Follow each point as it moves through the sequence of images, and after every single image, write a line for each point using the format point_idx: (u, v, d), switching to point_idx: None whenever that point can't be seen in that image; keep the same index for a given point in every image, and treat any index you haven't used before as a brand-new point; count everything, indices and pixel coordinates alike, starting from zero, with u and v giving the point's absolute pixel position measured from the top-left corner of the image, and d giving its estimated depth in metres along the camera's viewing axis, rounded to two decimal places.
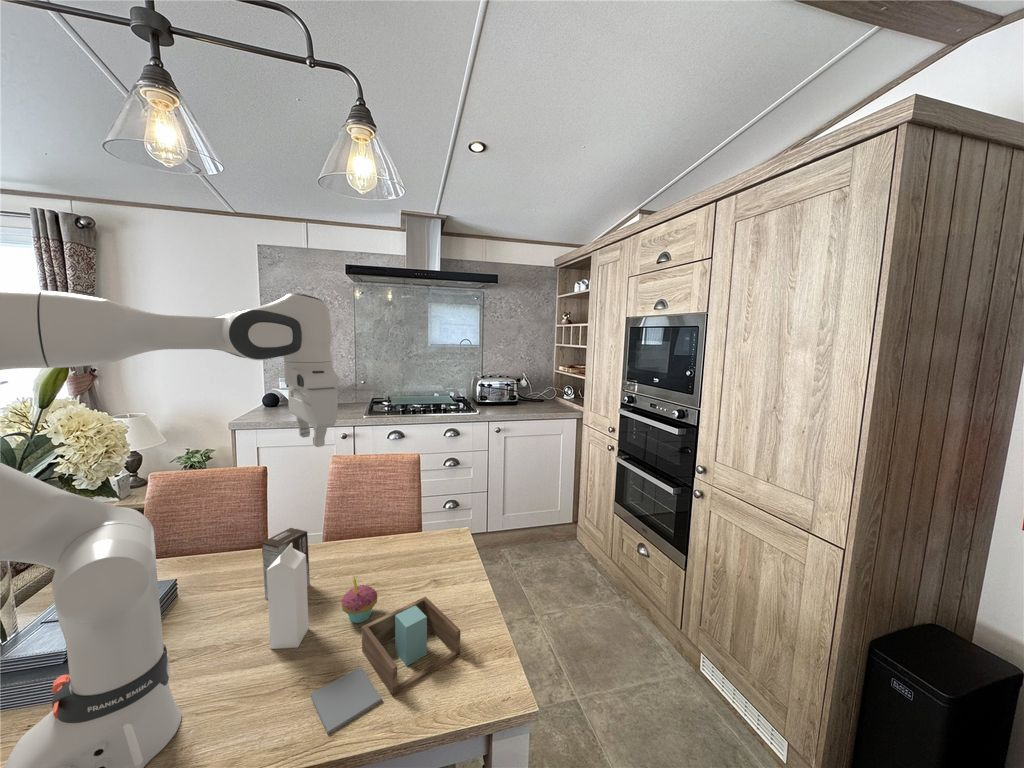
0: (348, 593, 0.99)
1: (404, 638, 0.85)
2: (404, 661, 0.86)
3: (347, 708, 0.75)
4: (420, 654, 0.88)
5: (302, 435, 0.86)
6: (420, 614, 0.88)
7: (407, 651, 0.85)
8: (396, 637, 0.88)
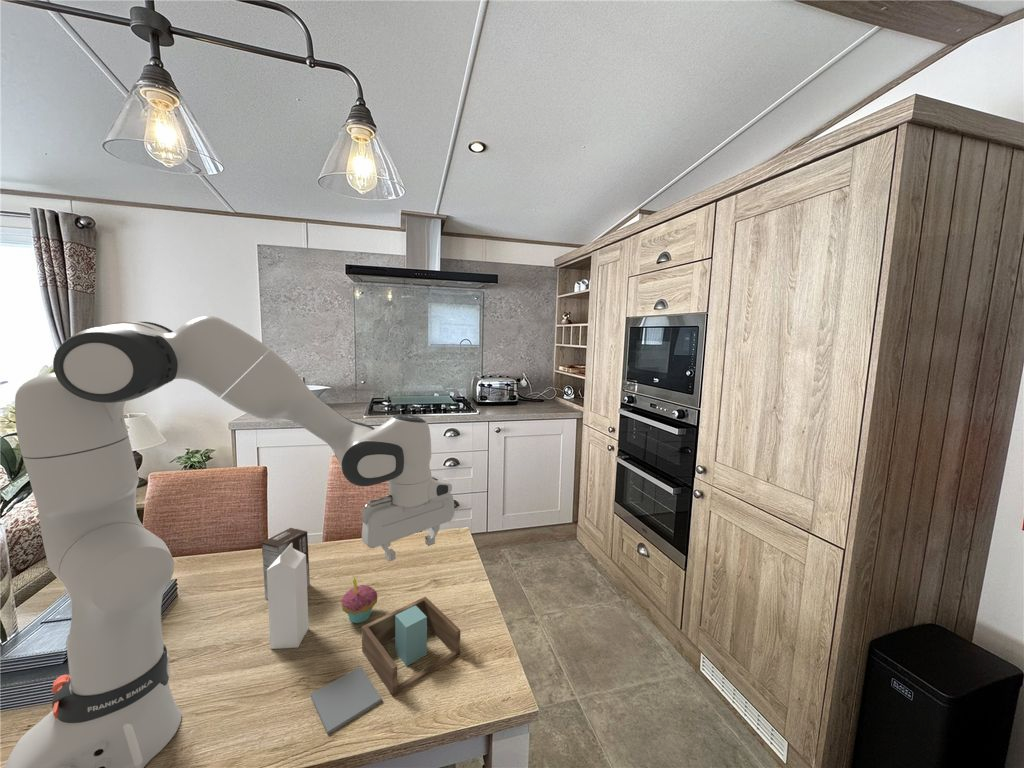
0: (348, 593, 0.99)
1: (405, 638, 0.85)
2: (404, 661, 0.86)
3: (347, 708, 0.75)
4: (420, 654, 0.88)
5: None
6: (420, 614, 0.88)
7: (407, 651, 0.85)
8: (396, 637, 0.88)
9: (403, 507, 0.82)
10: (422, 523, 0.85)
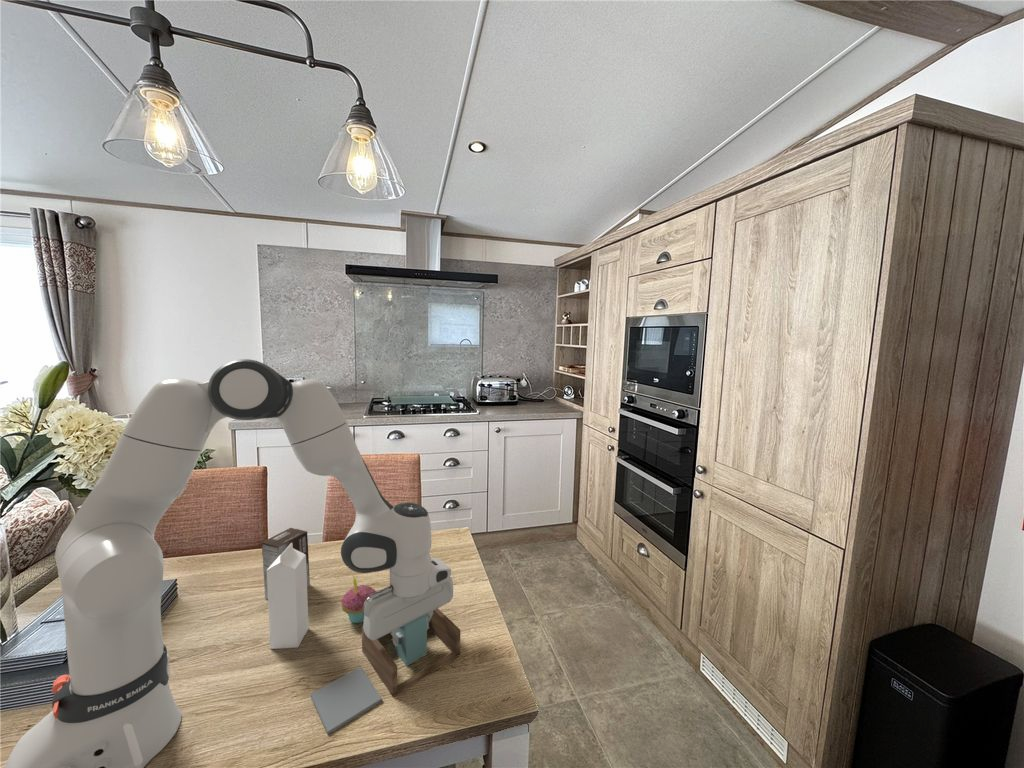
0: (348, 593, 0.99)
1: (404, 638, 0.85)
2: (404, 660, 0.86)
3: (347, 708, 0.75)
4: (420, 654, 0.88)
5: None
6: None
7: (407, 651, 0.85)
8: None
9: (404, 597, 0.84)
10: (422, 609, 0.88)
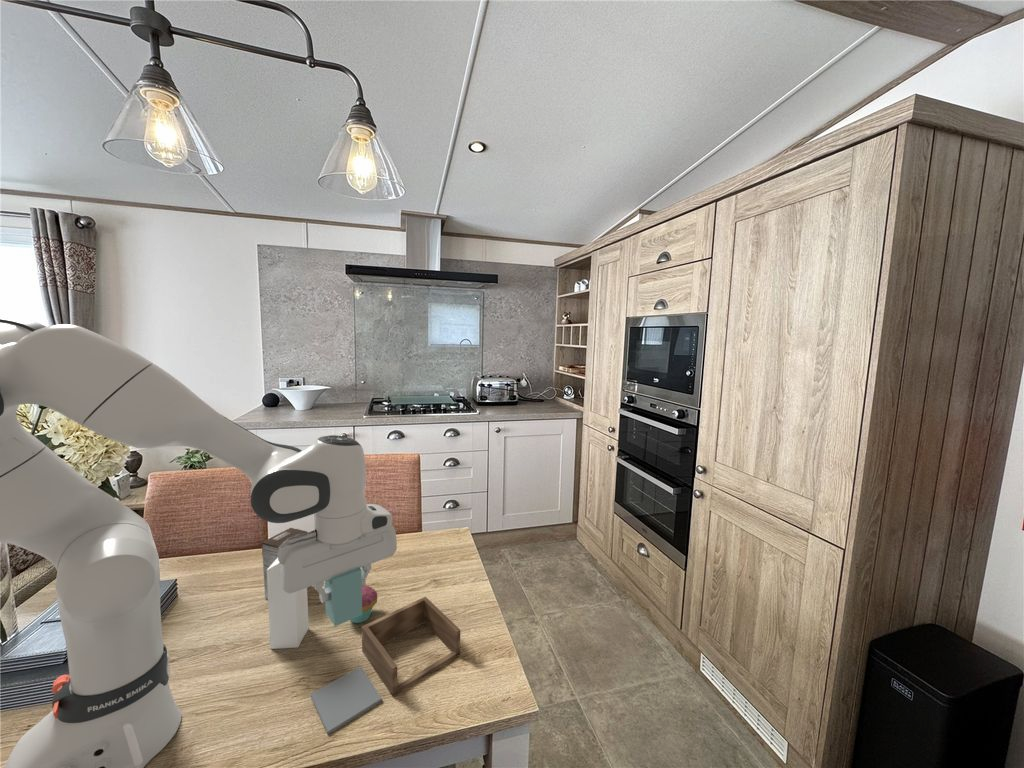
0: None
1: (332, 593, 0.71)
2: (333, 620, 0.72)
3: (347, 708, 0.75)
4: (353, 613, 0.74)
5: None
6: None
7: (336, 608, 0.72)
8: None
9: (330, 544, 0.70)
10: (355, 561, 0.74)
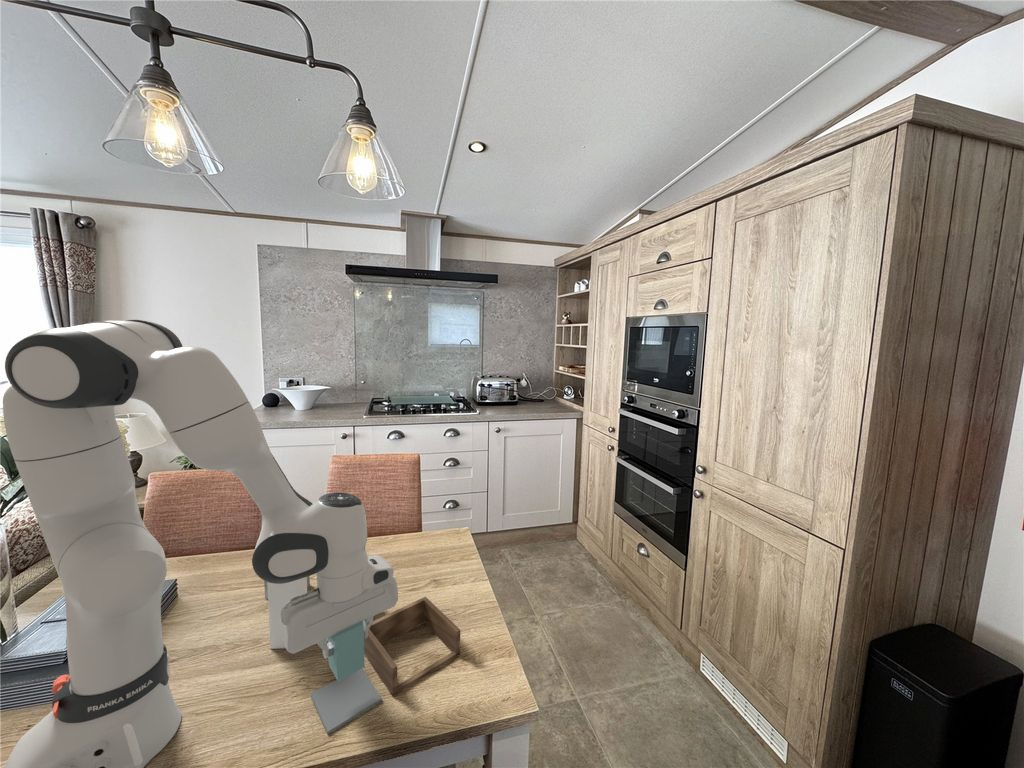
0: None
1: (335, 649, 0.73)
2: (336, 675, 0.73)
3: (347, 708, 0.75)
4: (356, 667, 0.75)
5: None
6: None
7: (339, 664, 0.73)
8: None
9: (332, 602, 0.72)
10: (357, 615, 0.75)
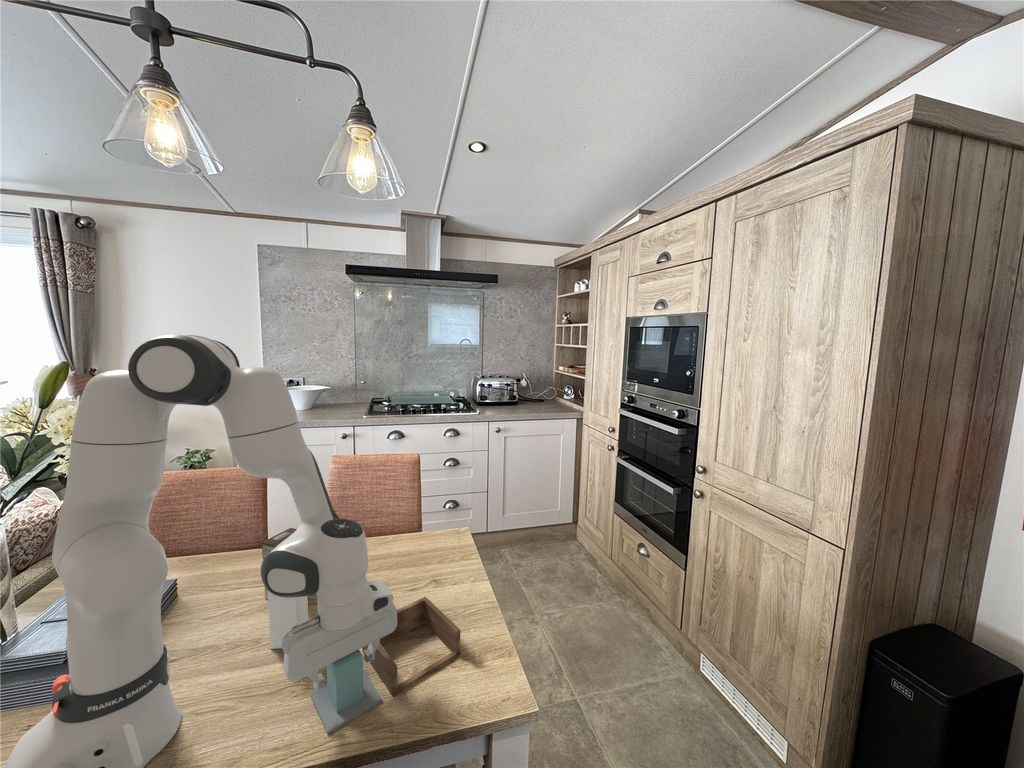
0: None
1: (334, 681, 0.73)
2: (335, 706, 0.74)
3: (347, 708, 0.75)
4: (354, 697, 0.76)
5: None
6: (355, 651, 0.77)
7: (338, 695, 0.74)
8: (327, 678, 0.77)
9: (333, 629, 0.72)
10: (357, 642, 0.76)
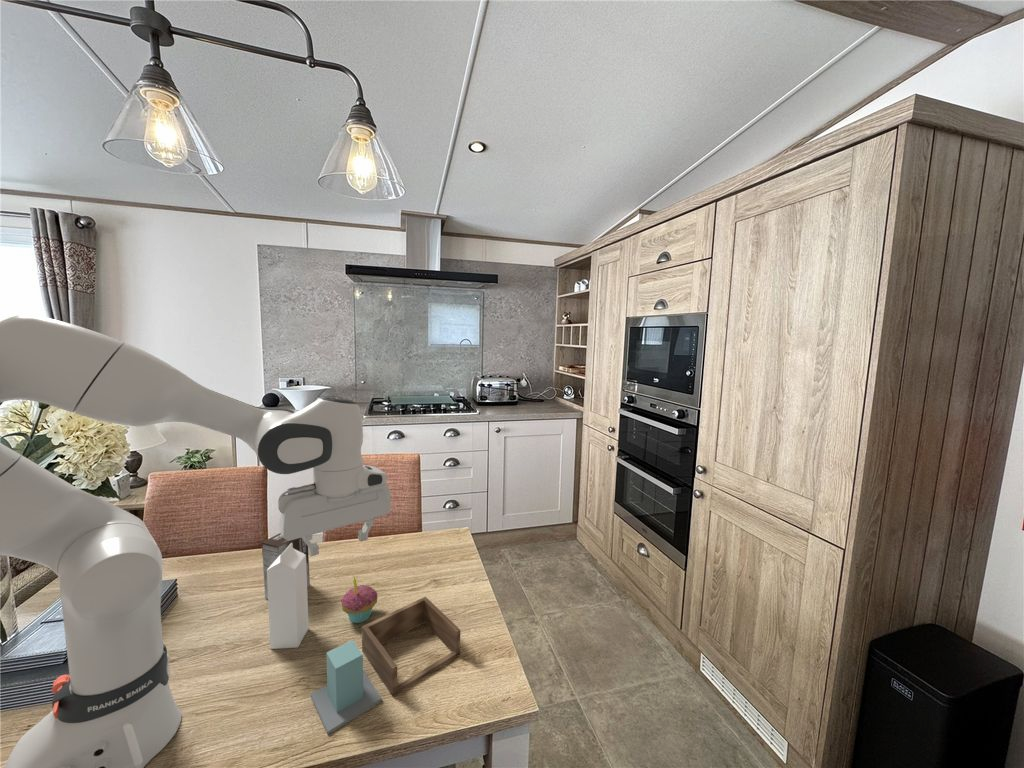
0: (348, 593, 0.99)
1: (334, 681, 0.73)
2: (335, 706, 0.74)
3: (347, 708, 0.75)
4: (354, 697, 0.76)
5: None
6: (355, 651, 0.77)
7: (338, 695, 0.74)
8: (327, 678, 0.77)
9: (327, 497, 0.75)
10: (351, 515, 0.78)
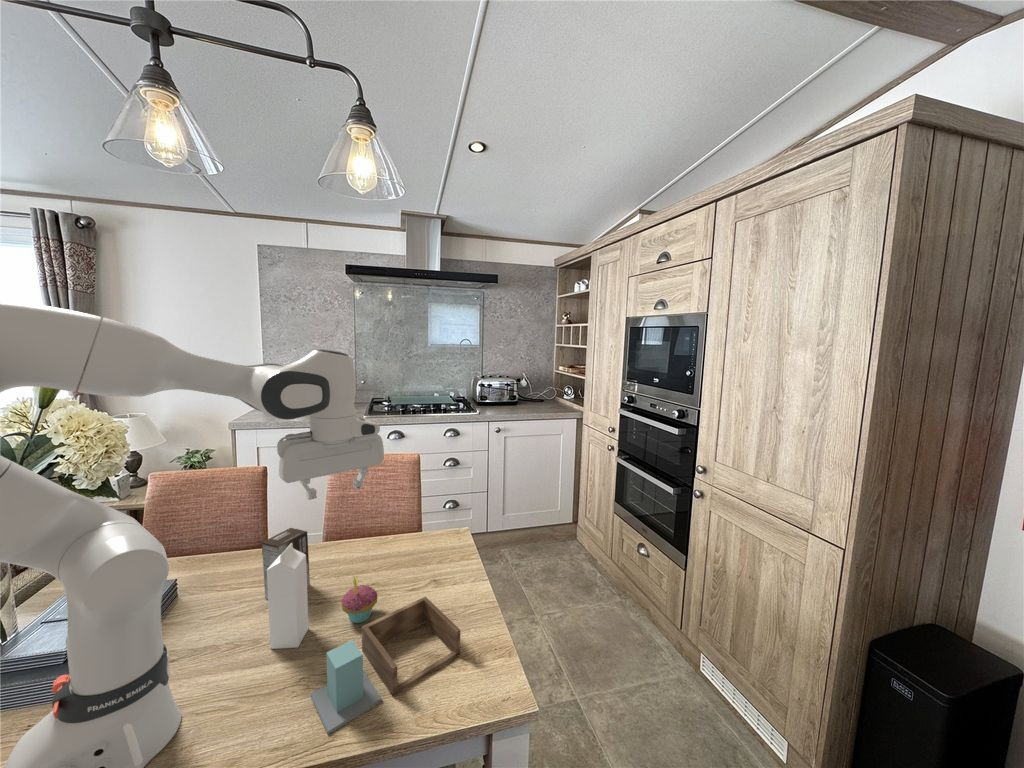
0: (348, 593, 0.99)
1: (334, 681, 0.73)
2: (335, 706, 0.74)
3: (347, 708, 0.75)
4: (354, 697, 0.76)
5: None
6: (355, 651, 0.77)
7: (338, 695, 0.74)
8: (327, 678, 0.77)
9: (324, 443, 0.79)
10: (346, 463, 0.83)
